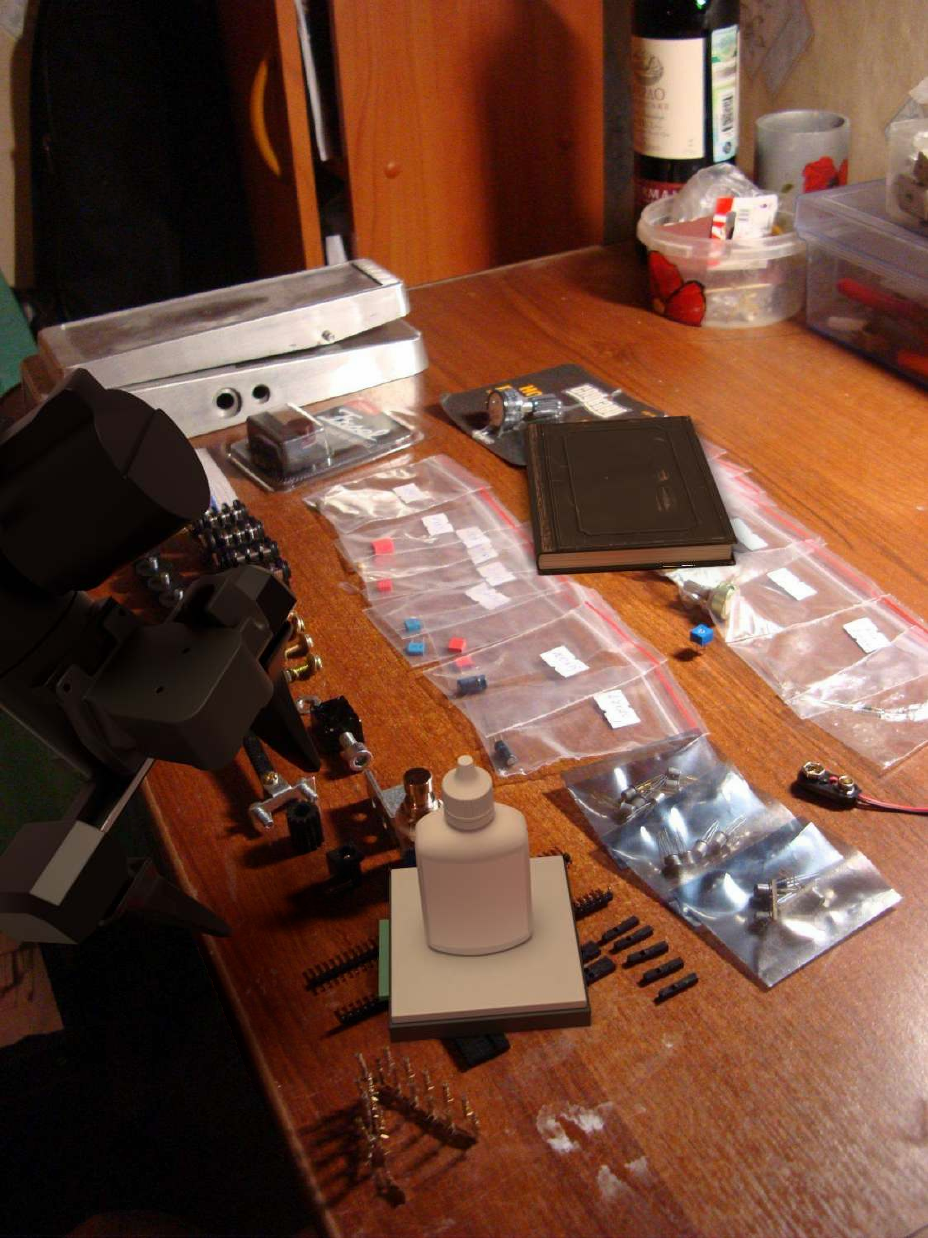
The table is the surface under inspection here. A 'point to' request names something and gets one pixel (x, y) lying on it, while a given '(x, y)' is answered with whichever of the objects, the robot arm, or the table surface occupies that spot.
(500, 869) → the eye dropper bottle
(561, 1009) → the kitchen scale
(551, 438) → the hardcover book
